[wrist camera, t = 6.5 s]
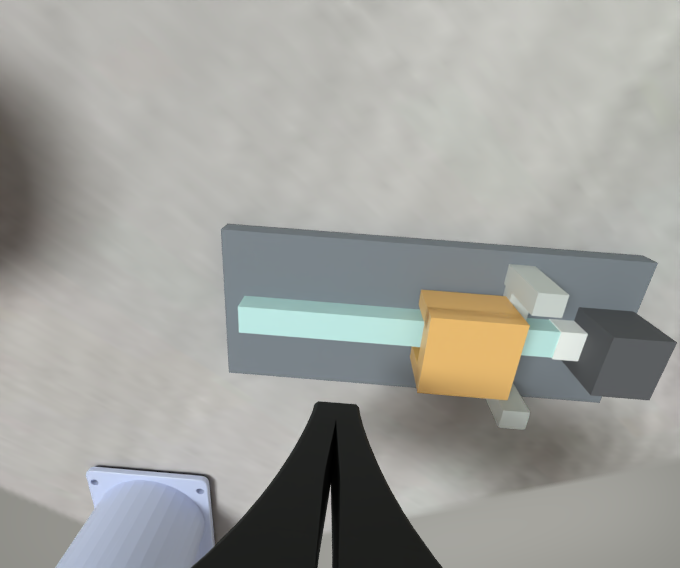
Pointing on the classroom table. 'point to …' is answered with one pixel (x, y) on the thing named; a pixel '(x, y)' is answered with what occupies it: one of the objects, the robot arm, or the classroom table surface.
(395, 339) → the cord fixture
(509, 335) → the sleeve
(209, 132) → the classroom table surface
